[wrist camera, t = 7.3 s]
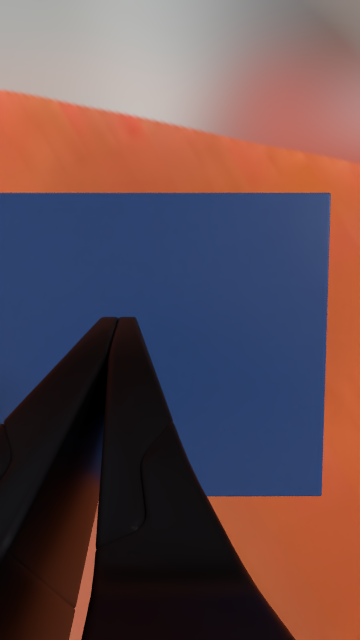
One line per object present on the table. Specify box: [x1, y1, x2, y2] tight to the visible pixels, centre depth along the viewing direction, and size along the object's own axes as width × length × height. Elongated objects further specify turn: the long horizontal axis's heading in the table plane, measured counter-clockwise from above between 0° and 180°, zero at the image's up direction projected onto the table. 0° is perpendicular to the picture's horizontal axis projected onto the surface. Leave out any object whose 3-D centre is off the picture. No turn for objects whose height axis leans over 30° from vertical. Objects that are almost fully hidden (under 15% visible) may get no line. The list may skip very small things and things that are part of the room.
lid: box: [0, 193, 331, 496], centre depth 14 cm, size 12×15×1 cm
